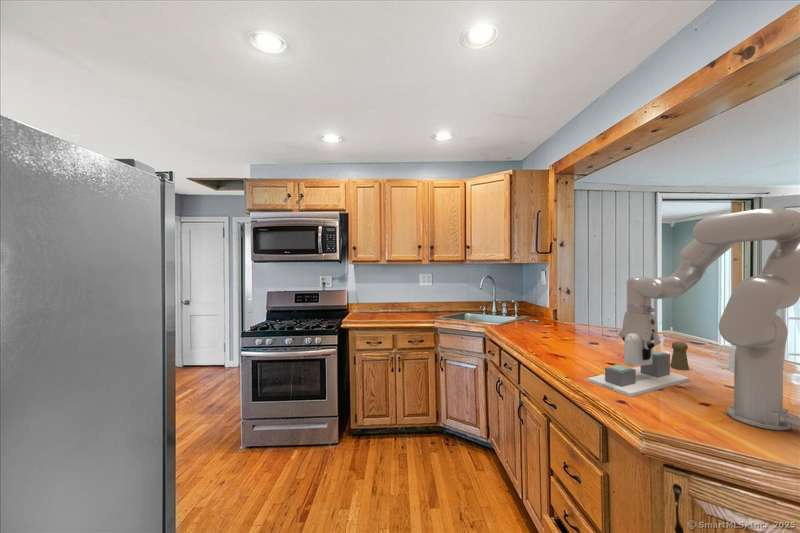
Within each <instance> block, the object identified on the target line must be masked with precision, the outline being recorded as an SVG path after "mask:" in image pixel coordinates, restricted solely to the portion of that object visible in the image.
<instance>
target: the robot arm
mask: <svg viewBox="0 0 800 533" xmlns="http://www.w3.org/2000/svg"><path fill="white" fill-rule="evenodd" d="M692 235H693V238H694V239H692V240H691V241H690V242H689V243H688V244H687V245H686V246H685V247H684V248H683V249H682V250H681V251H680V257H681V259H682V263H681V264H680V265H679V267H678V268H677V269H676V270H675V271H674V272H672V273H671V274H670V275H669V276H661V277H646V276H645V277H644V276H630V277H628V278H627V280H626V311H625V313H624V317H623V321H622V330H621V331H619V333H618V337H620V338H621V339H622V340H623V342H624V343H625V336H626V335H628V334H630V333H633V334H634V333H635V334H637V335H638V336H639V337H640V340H641V341H643V344H644V348H645V349H643V360H648V359H650V357H651V349H652V348H654V347H656V346H657V345H660V344H661V343H662V341H661V340H660V338H659V337H658V331H657V329H658V328H657V323H656V319H655V318H656V317H655V315H654V314H653V313H655V312H656V309H655V308H653V306H652V299H654V300H663V299H670V298H673V299H674V298H677V297H679V296H682V295H683V294H685V293H686V292H687V291H688V290H690V289H691V288H692V287H693V286H695V285H697V283H698V282H699V281H700V280H701V279H702V278H703V276H704V274H705V273H706V272H707V269H708V268H709V267H710V266H711V265H712V264H713V263H715V262H716V260H718V259H719V258H720V257H721V256H723V255H724V254H726V252H727V251H729V250H730V249H731V248H732V247H734V245H736V244H737V243H743V242H756V241H757V242H758V241H775V243H776V246H775V247H774V249H773V250H772V251H771V252H770V254H769V255H768V257H767V259H766V261H765V264H764V266H763V268H762V270H761V272H759V275H755V276H754V275H753V276H750V277H747V278H745V279H743V280H741V281H740V282H738V283H737V285H736V286H735V287H734V289H733V291H732V293H731V294H730V297H729V299H728V302H727V304H726V306H725V308H724V311H723V312H722V314H721V317H720V319H719V323H718V330H719V334H720V335H721V337H722V338H723V340H725V341H726V342H727V343H729V344H730V345H735V346H736V349H735V362H734V373H733V374H734V376H733V378H734V380H733V405H732V406H729V407H726V414H727V415H728V416H729V417H730V418H732V419H734V420H736V421H738V422H741V423H744V424H746V425H749V426H753V427H756V428H761V429H766V430H771V431H788V430H790V429H791V428H792V426H793V427H796V428H799V429H800V418H799V417H798V416H797V417H796V416H792V415H790V414H789V413H788V409H787V408H785V407H783V406H784V404H783V403H784V402H783V400H784V395H783V394H784V393H783V392H784V365H785V364H784V363H785V362H784V361H785V350H786V346H787V345H786V344H787V341H788V334H789V333H788V327H787V326H788V325H787V324H786V322H785V320H784V319H783V318H782V317H780V316H779V315H778V314H777V312H778V310H783V309H788V308H790V307H792V306H794V305H795V304H797V302H799V299H800V211H798V210H793V209H785V208H775V207H774V208H772V207H771V208H769V207H767V208H765V207H764V208H763V207H762V208H755V209H750V210H744V211H742V210H741V211H737V212H731V213H725V214H717V215H712V216H707V217H704V218H703V219H701V220H699V221H698V222H697V223H696V224H695V225H694V227H693V229H692ZM651 340H653V342H652V343H651Z"/></svg>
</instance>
